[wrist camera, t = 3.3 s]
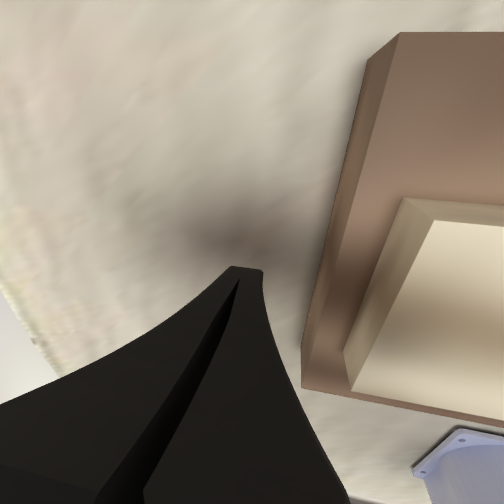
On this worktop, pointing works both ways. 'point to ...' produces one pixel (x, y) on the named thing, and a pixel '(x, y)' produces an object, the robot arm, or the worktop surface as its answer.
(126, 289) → the worktop surface
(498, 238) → the cream square slab
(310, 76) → the worktop surface
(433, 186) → the walnut board
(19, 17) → the worktop surface
